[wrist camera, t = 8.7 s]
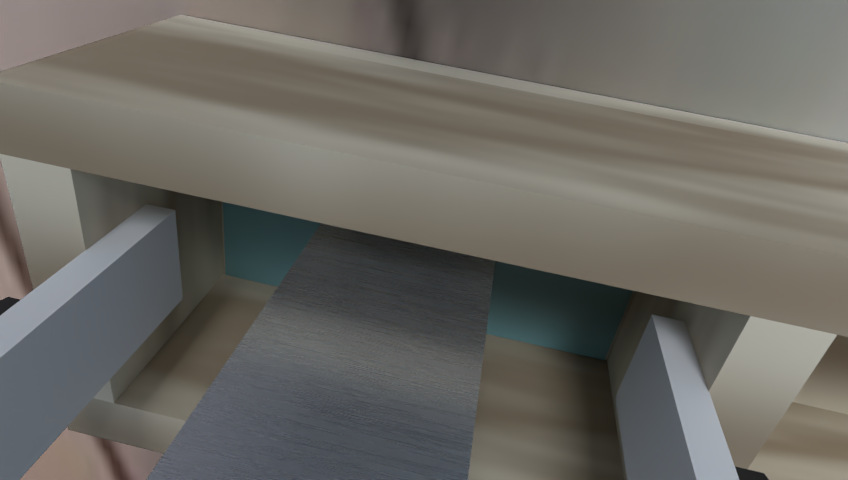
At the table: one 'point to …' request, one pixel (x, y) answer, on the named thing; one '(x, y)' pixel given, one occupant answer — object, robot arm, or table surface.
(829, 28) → the table surface
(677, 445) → the robot arm
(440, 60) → the table surface
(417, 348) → the pale blue pillar block
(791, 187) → the well block
